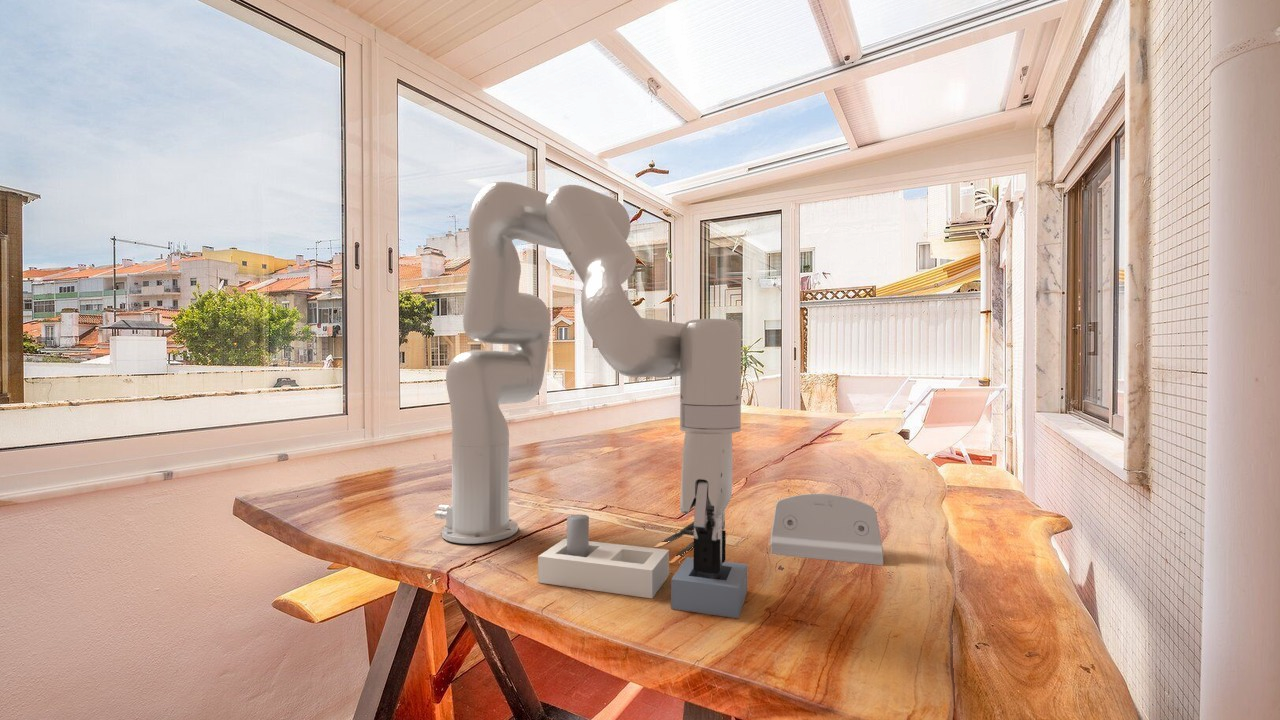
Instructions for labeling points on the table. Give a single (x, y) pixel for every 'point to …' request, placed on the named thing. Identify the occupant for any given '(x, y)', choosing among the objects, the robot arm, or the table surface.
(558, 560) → the rack
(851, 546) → the grey wall bracket
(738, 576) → the socket block
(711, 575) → the grey peg
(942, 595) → the table surface
